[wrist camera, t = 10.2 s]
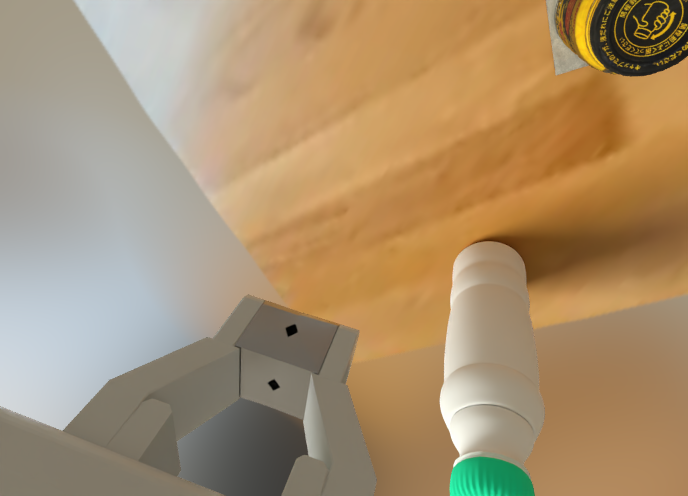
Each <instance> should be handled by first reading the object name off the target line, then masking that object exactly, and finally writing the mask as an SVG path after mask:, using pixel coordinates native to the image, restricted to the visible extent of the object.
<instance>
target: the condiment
mask: <svg viewBox="0 0 688 496" xmlns="http://www.w3.org/2000/svg"><path fill="white" fill-rule="evenodd" d="M546 5H547V12H548V21H549V28H550V36H551V43H552V51H553V58H554V65H555V73H556V75H559V74H562V73H565V72H568V71H572V70H575V69H578V68H581V67H585V66H588V65H589V66H591V67H592V68H595V69H597V70H600V71H603V72H606V73H611V74H621V75H623V76H646V75H651V74H653V73H657V72H659V71H663V70H665V69H667V68H670V67H672V66H673V65H676V64H678V63H679V62H680V61H682V60H683V59H684V58H686V57H687V56H688V0H546Z"/></svg>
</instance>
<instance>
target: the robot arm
mask: <svg viewBox="0 0 688 496" xmlns="http://www.w3.org/2000/svg"><path fill="white" fill-rule="evenodd" d="M359 332H360V331H359V330H357V329H353V328H350V327H347V326H344V325H341V324H338V323H334V322H331V321H328V320H325V319H322V318H318V317H315V316H312V315H309V314H305V313H301V312H298V311H295V310H292V309H289V308H286V307H284V306H281V305H278V304H275V303H272V302H269V301H266V300H263V299H260V298H257V297H254V296H251V295H247V296H245V297H244V298H243V299H242V300H241V301H240V303H239V304H238V306H237V307H236V308H235V309H234V311H233V312H232V313H231V315H230V316H229V317H228V319H227V320H226V322H225V323H224V324H223V326H222V327H221V328H220V330H219V331H218V332H217V334H216V335H215V336H214V338H213V339H211V338H208V337H206V338H204V339H202V340H199V341H197V342H195V343H193V344H190V345H188V346H186V347H184V348H182V349H179V350H177V351H174V352H172V353H170V354H168V355H165V356H163V357H161V358H159V359H156V360H154V361H152V362H150V363H147V364H145V365H143V366H140V367H138V368H136V369H134V370H131V371H129V372H127V373H125V374H122V375H120V376H118V377H115V378H113V379H111V380H109V381H108V382H107V383H106V385H105V386H104V387H103V388H102V389H101V390H100V391H99V392H98V393H97V394H96V395H95V396H94V398H93V399H92V400H91V401H90V402H89V403H88V404H87V405H86V406H85V407H84V408H83V409H82V411H81V412H80V413H79V414H78V415H77V416H76V417H75V418H74V419H73V420H72V421H71V422H70V424H68V426H67V427H66V428H65V429H64V430H63V431H61V430H59V429H56V428H54V427H51V426H48V425H46V424H43V423H41V422H38V421H36V420H33V419H31V418H28V417H26V416H23V415H21V414H18V413H16V412H13V411H11V410H8V409H6V408H3V407H1V406H0V496H225V495H222V494H220V493H217V492H215V491H212V490H210V489H207V488H204V487H202V486H200V485H197V484H194V483H192V482H190V481H187V480H185V479H182V478H180V477H177V476H178V474H179V472H180V471H181V467H180V460H179V454H178V448H177V441H178V440H179V439H181V438H182V437H184V436H185V435H187V434H188V433H190V432H191V431H193V430H194V429H196V428H197V427H199V426H200V425H201V424H203V423H205V422H206V421H207V420H209V419H210V418H212V417H213V416H215V415H216V414H218V413H219V412H221V411H222V410H224V409H225V408H227V407H228V406H229V405H231V404H232V403H234V402H235V401H237V400H238V399H239V397H241V398H244V399H247V400H251V401H253V402H256V403H259V404H262V405H266V406H269V407H272V408H274V409H277V410H280V411H282V412H285V413H287V414H290V415H292V416H295V417H297V418H300V419H303V420H304V421H303V422H304V429H305V435H306V442H307V448H308V454H309V456H306V455H303V456H301V457H299V458H297V459H296V461H295V464H294V466H293V469H292V471H291V474H290V476H289V478H288V481H287V483H286V486H285V489H284V491H283V493H282V496H374V491H375V487H376V481H377V479H376V476H375V472H374V469H373V466H372V463H371V460H370V456H369V454H368V450H367V447H366V444H365V440H364V437H363V434H362V431H361V428H360V424H359V421H358V418H357V415H356V412H355V409H354V405H353V402H352V399H351V396H350V392H349V389H348V386H347V385H346V381H347V377H348V374H349V370H350V367H351V363H352V360H353V356H354V352H355V348H356V344H357V340H358V337H359Z"/></svg>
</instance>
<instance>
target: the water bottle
mask: <svg viewBox="0 0 688 496" xmlns="http://www.w3.org/2000/svg"><path fill="white" fill-rule="evenodd" d="M450 304H451V313H450V317H449V322H448V329H447V337H446V346H445V359H444V384H443V387H442V389H441V394H440V408H441V412H442V415H443V418H444V421H445V423H446V425H447V427H448V429H449V431H450V435H451V438H452V441H453V443H454V445H455V447H456V448H457V450H458V451H459V453H460V457H459V458H457V459H456V460H455V463H454V466H453V467H454V468H453V470H452V473H451V481H450V496H535V494H534V488H533V485H532V482H531V477H530V474H529V472H528V470H527V469H526V468H525V467H524V462H525V460H526V459H527V458H528V457H529V455H530V453H531V452H532V449H533V445H534V442H535V441H536V439H537V437H538V435H539V433H540V431H541V428H542V426H543V423H544V417H545V408H544V402H543V399H542V396H541V394H540V392H539V371H538V360H537V352H536V345H535V338H534V332H533V327H532V322H531V318H530V314H529V308H530V302H529V294H528V290H527V287H526V270H525V265H524V262H523V260H522V258H521V256H520V255H519V254H518V253H517V252H516V251H515V250H514V249H513V248H511V247H509V246H508V245H505V244H503V243H499V242H493V241H484V242H478V243H475V244H472V245H470V246H468V247H467V248H465V249H464V250H463V251H462V252H461V253H460V254H459V255H458V256H457V258H456V260H455V263H454V267H453V286H452V290H451V298H450Z"/></svg>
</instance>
